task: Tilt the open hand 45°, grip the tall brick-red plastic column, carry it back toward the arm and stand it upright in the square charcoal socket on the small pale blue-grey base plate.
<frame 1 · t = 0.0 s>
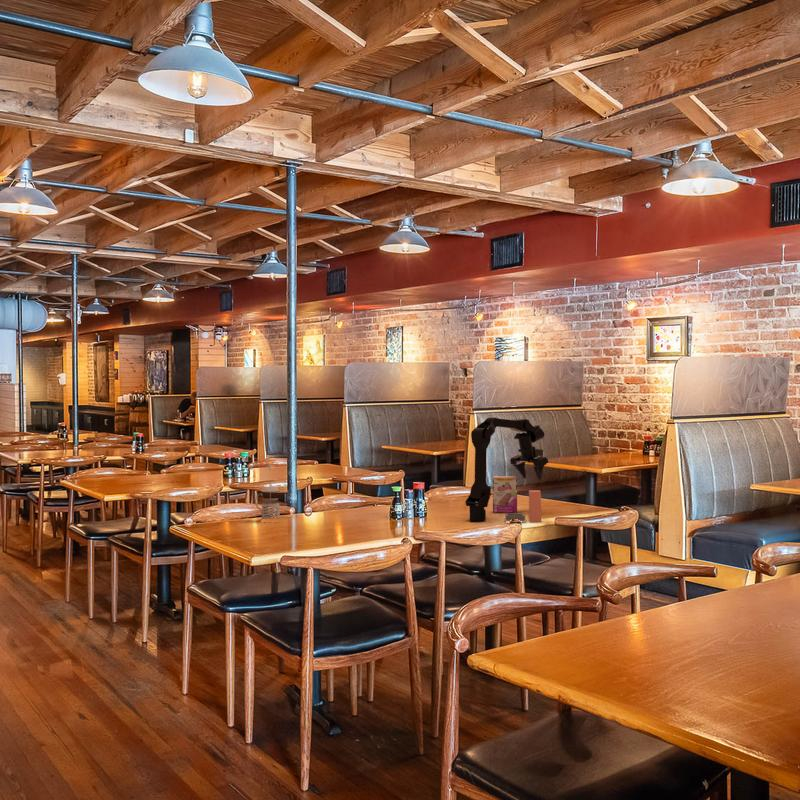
hand: (532, 478, 379), 15 cm above the table, tool pointing down, fingers open, 9 cm apart
candy bar box: (505, 512, 381), on the table
french press: (269, 521, 369), on the table
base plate: (515, 521, 354), on the table
column: (535, 521, 353), on the table
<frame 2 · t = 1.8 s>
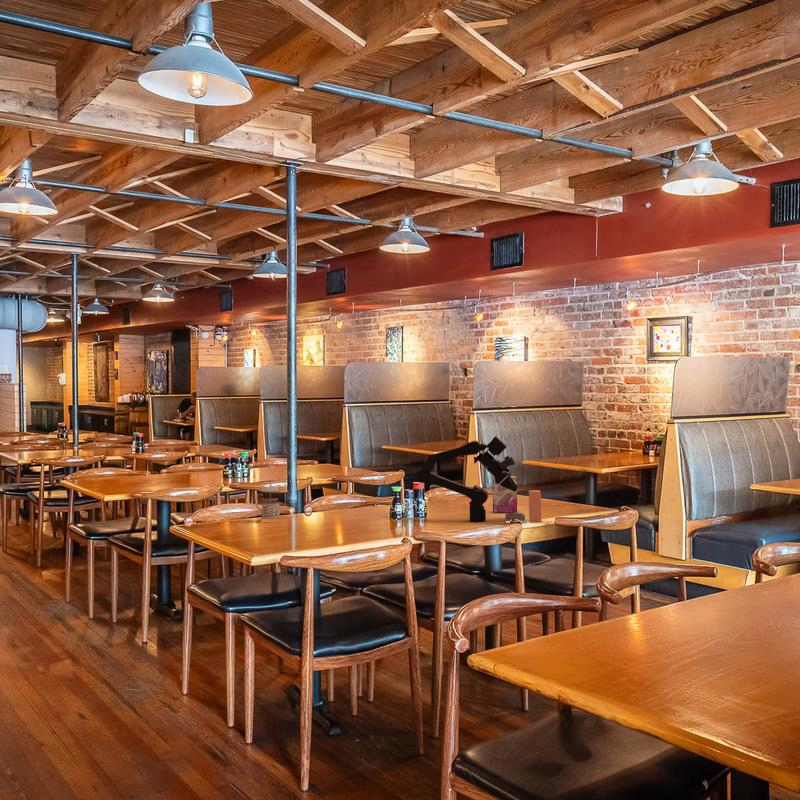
hand: (516, 489, 355), 13 cm above the table, tool tilted 45°, fingers open, 9 cm apart
nothing on the table moved.
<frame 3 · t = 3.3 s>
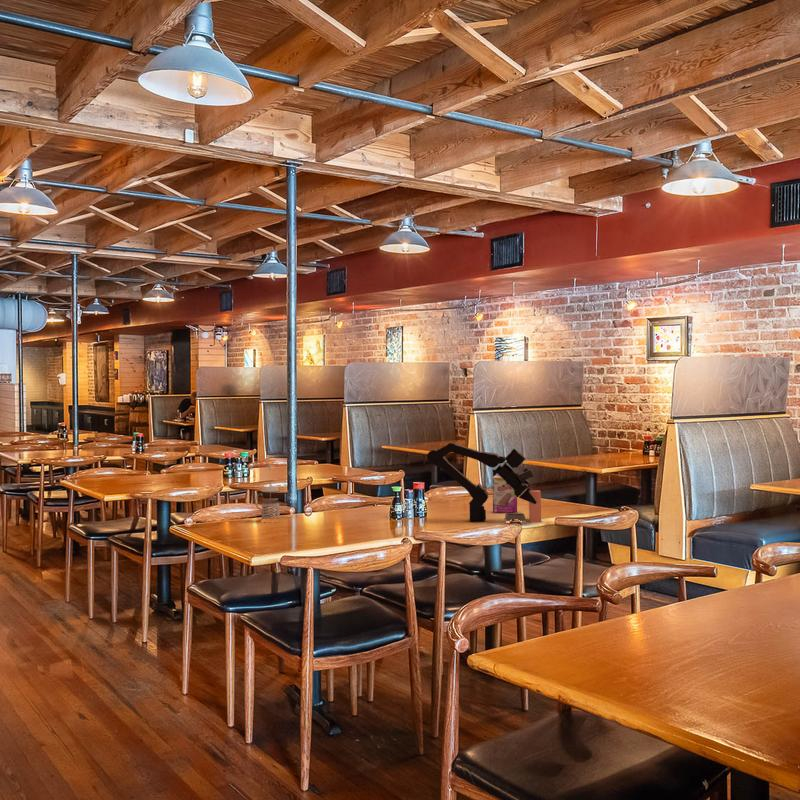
hand: (536, 501, 353), 8 cm above the table, tool tilted 45°, fingers open, 9 cm apart
nothing on the table moved.
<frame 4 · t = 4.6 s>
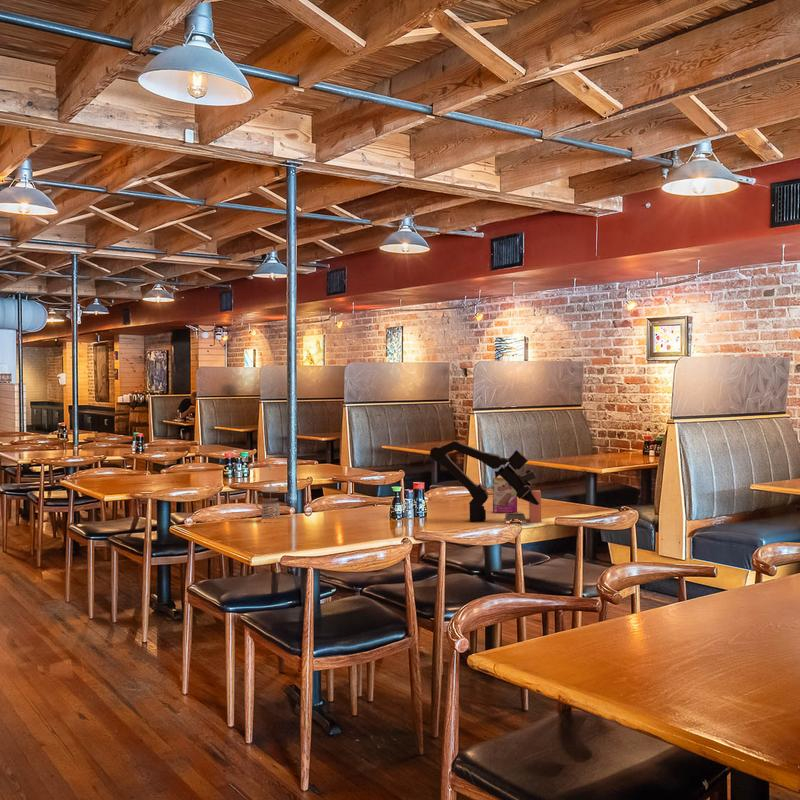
hand: (538, 503, 353), 8 cm above the table, tool tilted 45°, fingers closed on column, 5 cm apart
column: (535, 521, 353), on the table, touching gripper
everything else where it was.
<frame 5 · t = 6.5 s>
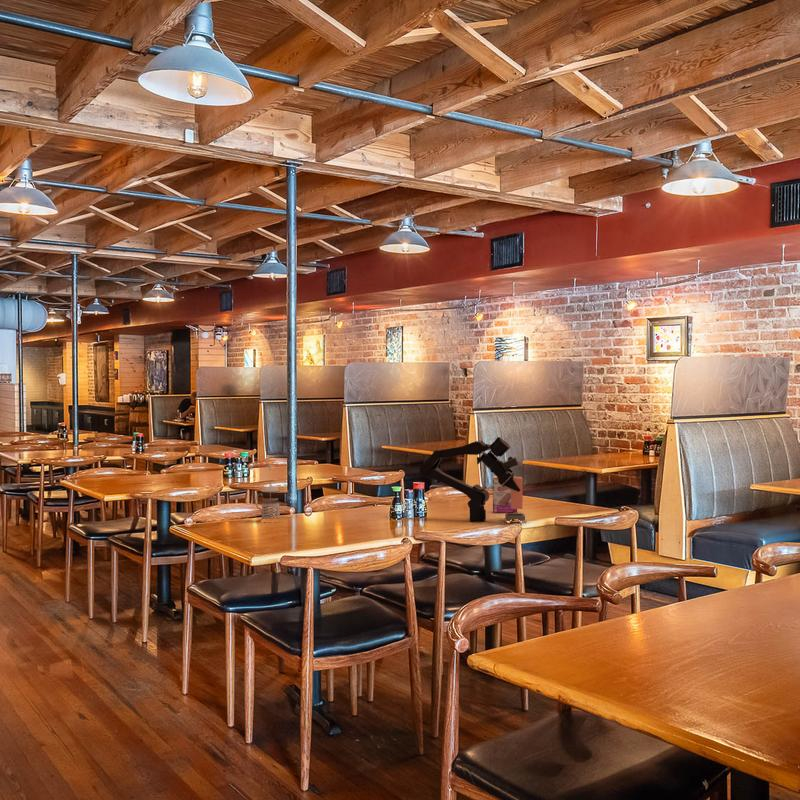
hand: (519, 490, 354), 13 cm above the table, tool tilted 45°, fingers closed on column, 5 cm apart
column: (516, 508, 354), point 6 cm above the table, touching gripper
everything else where it was.
when the fingers open (10 cm above the table, at t = 8.3 s): column drops 1 cm, resting on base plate.
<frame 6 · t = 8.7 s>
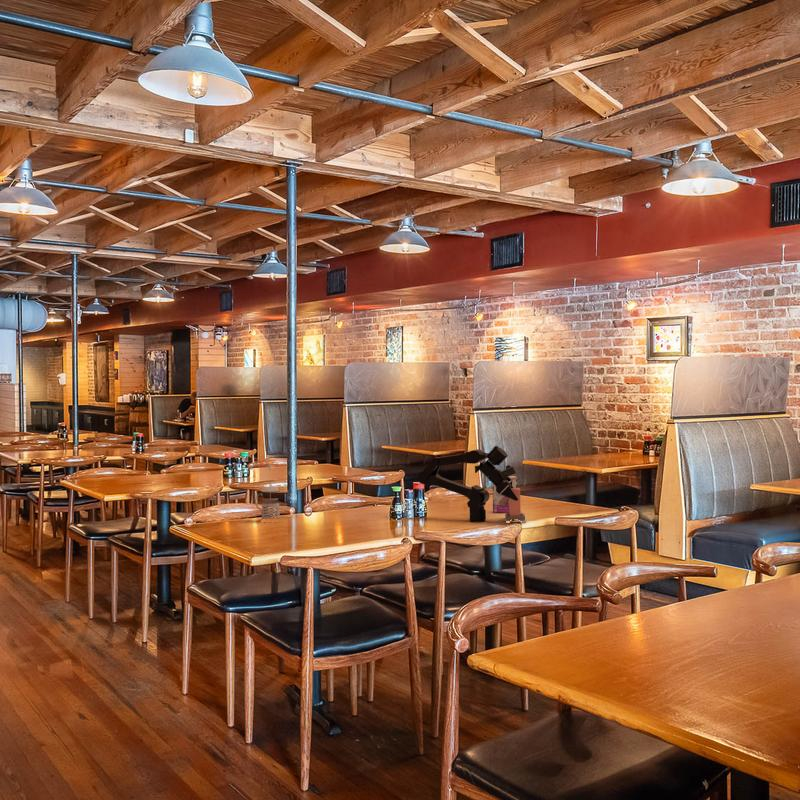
hand: (518, 498, 354), 10 cm above the table, tool tilted 45°, fingers open, 9 cm apart
column: (515, 519, 354), point 1 cm above the table, touching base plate
everything else where it was.
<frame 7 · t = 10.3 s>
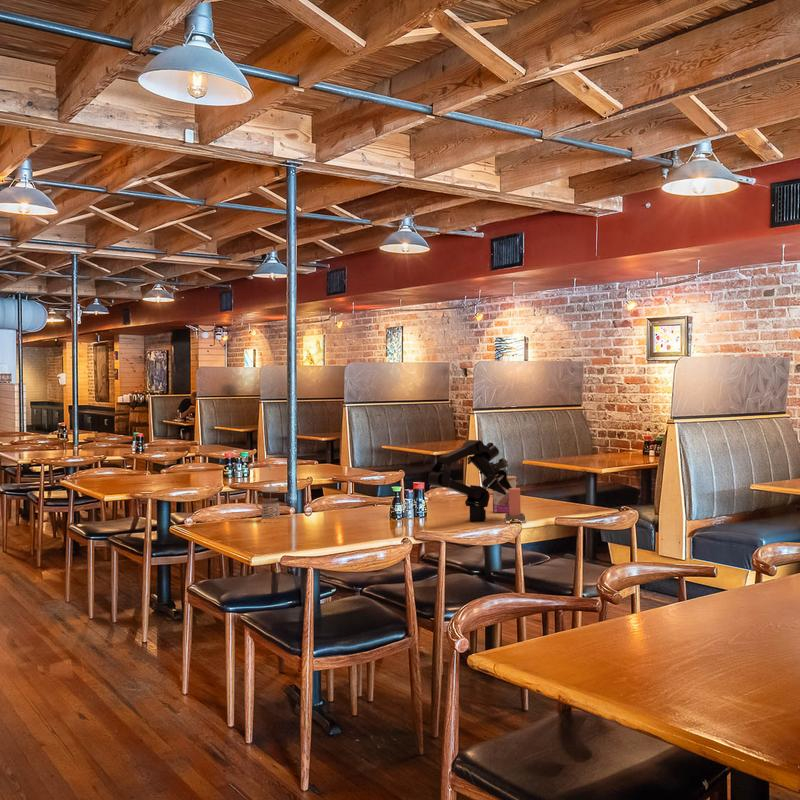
hand: (508, 492, 354), 12 cm above the table, tool tilted 45°, fingers open, 9 cm apart
nothing on the table moved.
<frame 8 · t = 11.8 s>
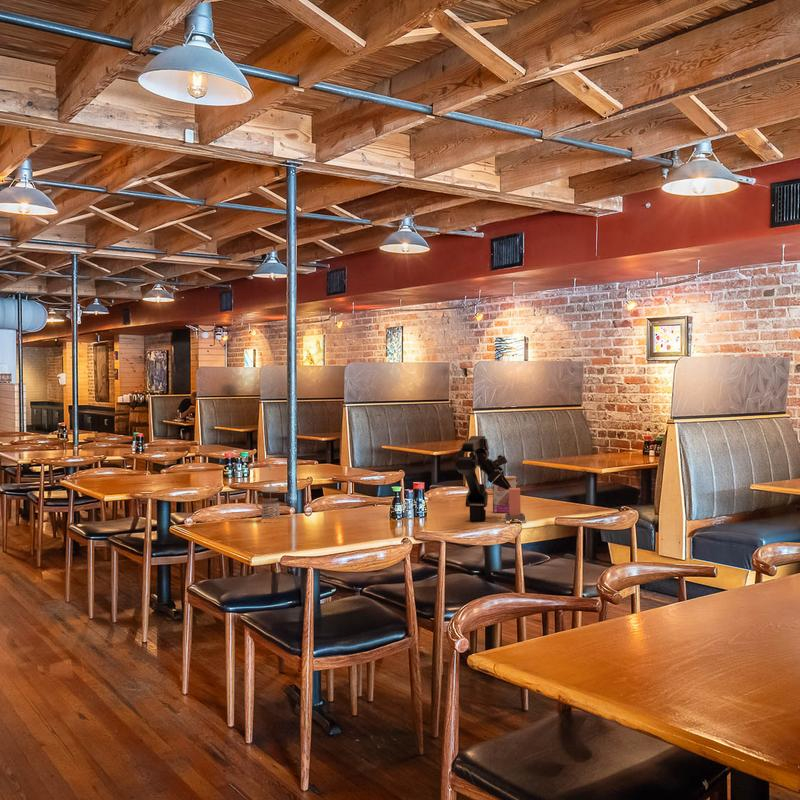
hand: (509, 487, 361), 14 cm above the table, tool tilted 45°, fingers open, 9 cm apart
nothing on the table moved.
at the end: column 0.0 cm off-centre on the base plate, point 1.0 cm above the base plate's base; column tilted 0°; the gripper is holding nothing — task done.
